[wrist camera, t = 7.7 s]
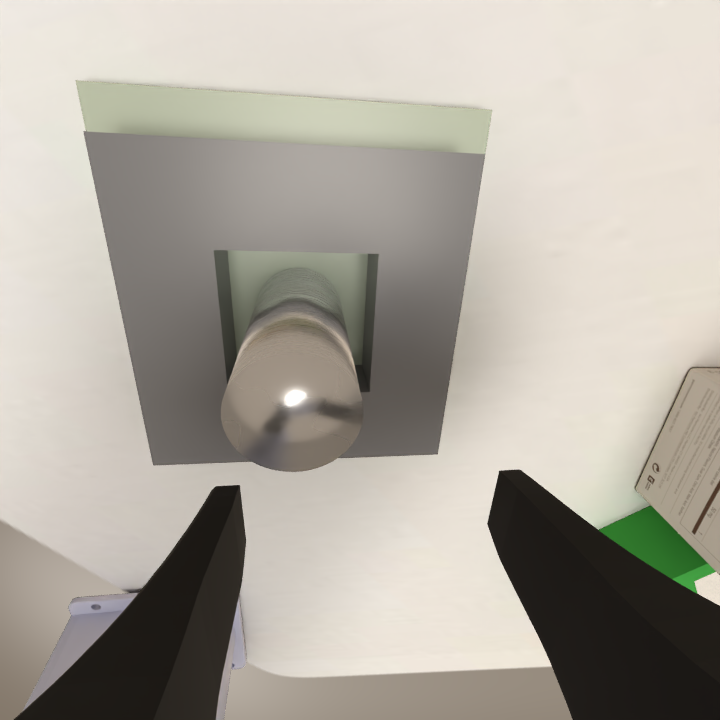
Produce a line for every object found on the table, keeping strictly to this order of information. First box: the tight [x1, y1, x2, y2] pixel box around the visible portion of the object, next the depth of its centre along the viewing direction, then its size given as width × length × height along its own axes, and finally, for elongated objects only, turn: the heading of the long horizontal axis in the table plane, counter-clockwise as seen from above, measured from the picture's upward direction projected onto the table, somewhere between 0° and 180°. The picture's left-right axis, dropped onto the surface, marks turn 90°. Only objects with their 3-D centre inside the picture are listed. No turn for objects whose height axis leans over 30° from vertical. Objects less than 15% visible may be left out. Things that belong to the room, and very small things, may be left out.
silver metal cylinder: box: [221, 268, 363, 472], centre depth 14 cm, size 4×4×8 cm
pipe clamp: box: [599, 506, 716, 593], centre depth 27 cm, size 11×4×5 cm, turn 119°
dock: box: [76, 80, 492, 465], centre depth 17 cm, size 14×15×4 cm
